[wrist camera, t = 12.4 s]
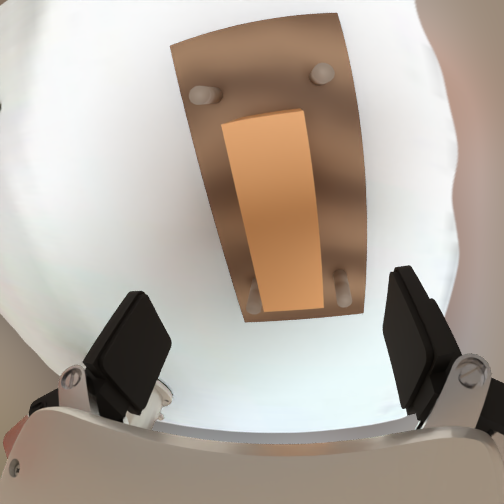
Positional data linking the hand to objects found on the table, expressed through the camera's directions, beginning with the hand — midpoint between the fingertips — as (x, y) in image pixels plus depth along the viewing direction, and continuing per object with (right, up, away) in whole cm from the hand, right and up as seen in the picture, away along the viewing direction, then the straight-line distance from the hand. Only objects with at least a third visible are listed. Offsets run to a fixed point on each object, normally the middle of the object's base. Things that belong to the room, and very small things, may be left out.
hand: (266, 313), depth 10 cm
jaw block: (+2, +7, +10) cm, 12 cm away
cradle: (+2, +7, +11) cm, 13 cm away
